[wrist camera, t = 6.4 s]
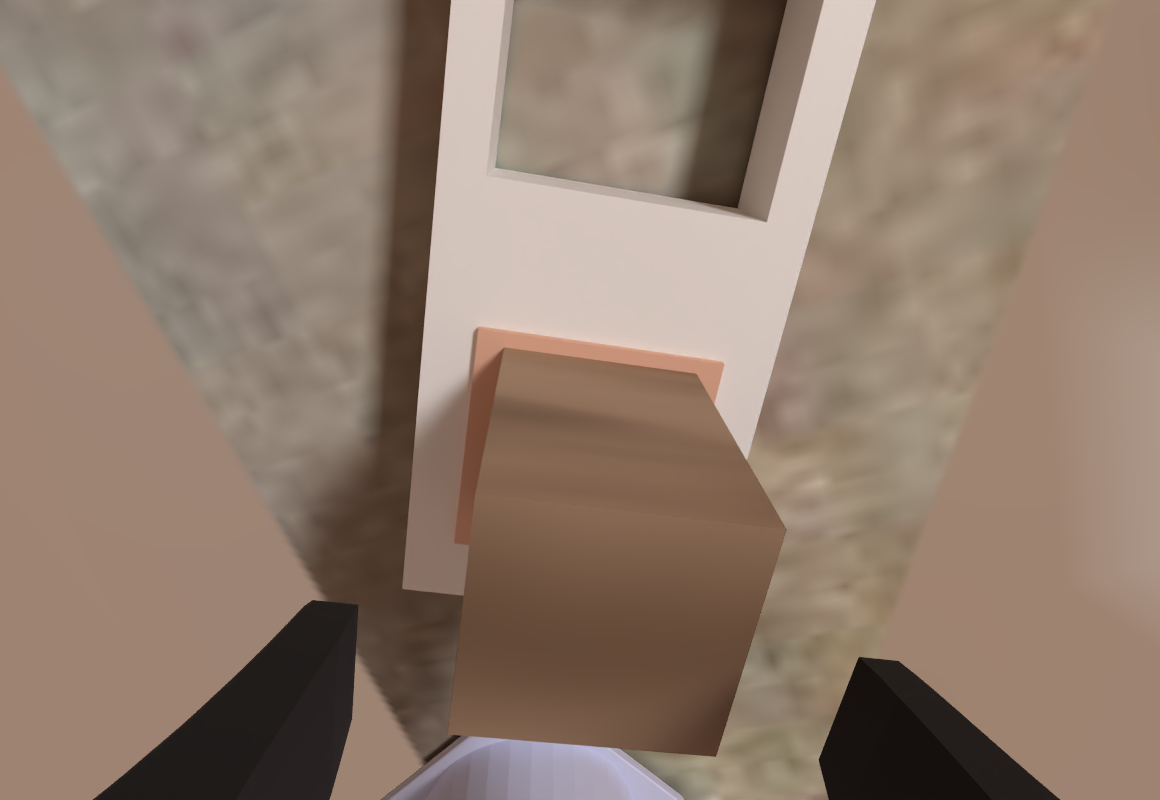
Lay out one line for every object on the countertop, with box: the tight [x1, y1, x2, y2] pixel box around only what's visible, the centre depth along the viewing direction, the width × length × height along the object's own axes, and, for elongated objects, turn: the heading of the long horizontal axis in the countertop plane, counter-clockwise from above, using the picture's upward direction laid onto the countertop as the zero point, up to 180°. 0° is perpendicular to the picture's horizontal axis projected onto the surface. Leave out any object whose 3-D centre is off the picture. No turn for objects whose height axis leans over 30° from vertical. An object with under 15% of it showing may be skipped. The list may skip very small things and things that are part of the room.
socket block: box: [402, 0, 876, 596], centre depth 16 cm, size 18×8×3 cm, turn 171°
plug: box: [448, 347, 787, 757], centre depth 13 cm, size 4×4×6 cm
